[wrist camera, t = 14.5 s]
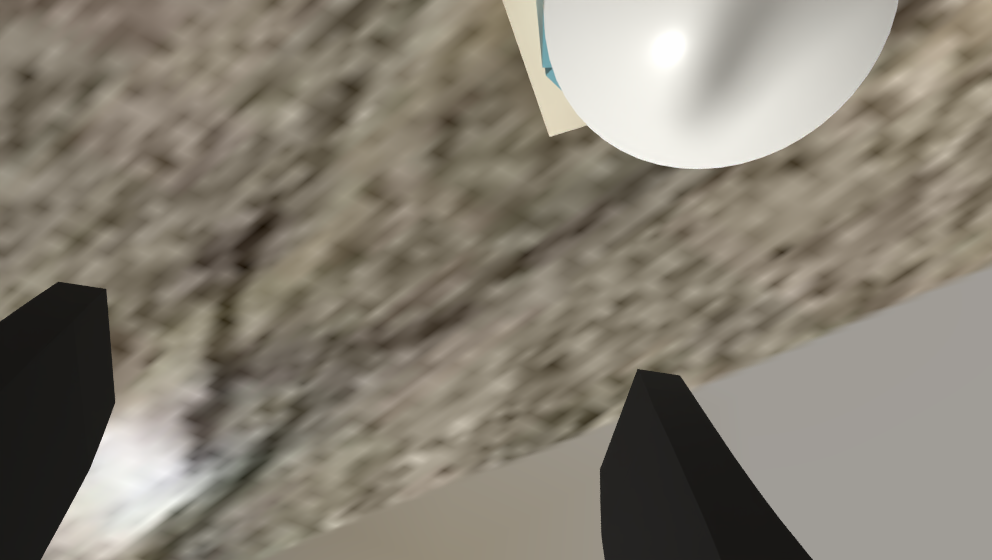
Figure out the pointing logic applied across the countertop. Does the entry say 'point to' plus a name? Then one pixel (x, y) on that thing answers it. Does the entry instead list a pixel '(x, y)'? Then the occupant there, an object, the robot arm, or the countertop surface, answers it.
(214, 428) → the countertop surface
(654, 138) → the cap
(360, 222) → the countertop surface
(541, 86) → the stud
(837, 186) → the countertop surface
